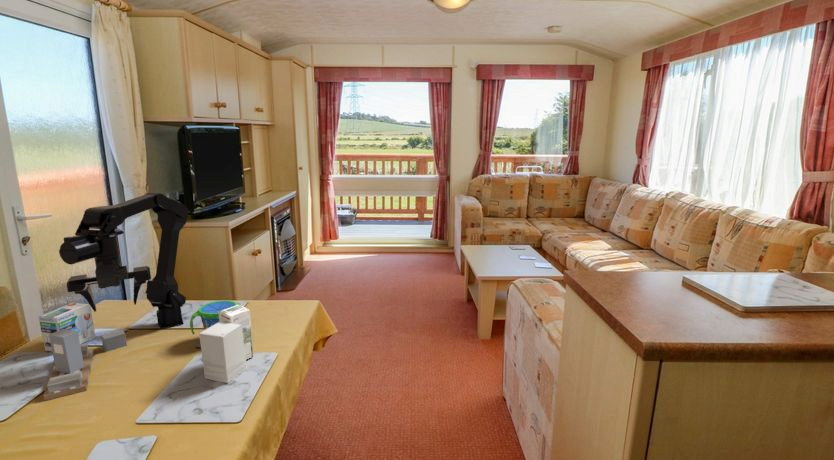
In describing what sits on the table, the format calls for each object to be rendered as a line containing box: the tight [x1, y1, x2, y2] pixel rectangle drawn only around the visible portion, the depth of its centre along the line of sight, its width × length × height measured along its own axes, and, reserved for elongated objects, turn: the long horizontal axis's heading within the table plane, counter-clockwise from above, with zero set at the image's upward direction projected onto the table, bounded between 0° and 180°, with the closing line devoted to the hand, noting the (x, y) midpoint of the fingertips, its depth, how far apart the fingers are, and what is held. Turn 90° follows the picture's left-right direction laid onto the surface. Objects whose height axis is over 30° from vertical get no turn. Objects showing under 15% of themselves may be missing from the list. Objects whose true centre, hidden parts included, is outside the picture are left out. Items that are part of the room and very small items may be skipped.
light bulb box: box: [38, 302, 96, 352], centre depth 129 cm, size 11×7×11 cm, turn 168°
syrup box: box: [219, 304, 254, 361], centre depth 120 cm, size 6×6×14 cm
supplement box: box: [198, 322, 248, 384], centre depth 113 cm, size 7×7×13 cm
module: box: [49, 329, 84, 374], centre depth 113 cm, size 4×5×10 cm
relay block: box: [100, 328, 128, 353], centre depth 128 cm, size 5×4×4 cm
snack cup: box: [189, 300, 242, 335], centre depth 132 cm, size 16×11×10 cm
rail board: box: [43, 343, 95, 401], centre depth 114 cm, size 22×8×3 cm, turn 32°
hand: (115, 307), depth 123 cm, fingers open, 9 cm apart
